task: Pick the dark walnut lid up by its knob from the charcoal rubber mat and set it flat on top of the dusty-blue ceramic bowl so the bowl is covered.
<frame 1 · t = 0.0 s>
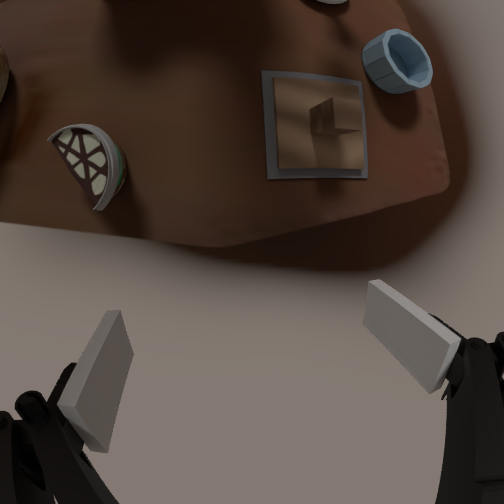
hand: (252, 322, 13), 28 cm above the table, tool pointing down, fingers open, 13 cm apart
walnut lid: (332, 119, 33), on the rubber mat
rubber mat: (318, 124, 38), on the table
food container: (113, 157, 35), on the table
ceramic bowl: (386, 67, 36), on the table
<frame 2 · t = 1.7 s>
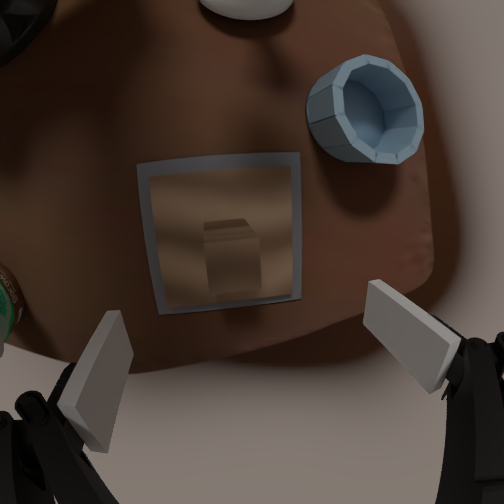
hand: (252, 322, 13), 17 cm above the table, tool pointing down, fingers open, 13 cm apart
walnut lid: (228, 249, 24), on the rubber mat
rubber mat: (224, 235, 29), on the table
food container: (9, 281, 26), on the table
ceramic bowl: (349, 116, 27), on the table
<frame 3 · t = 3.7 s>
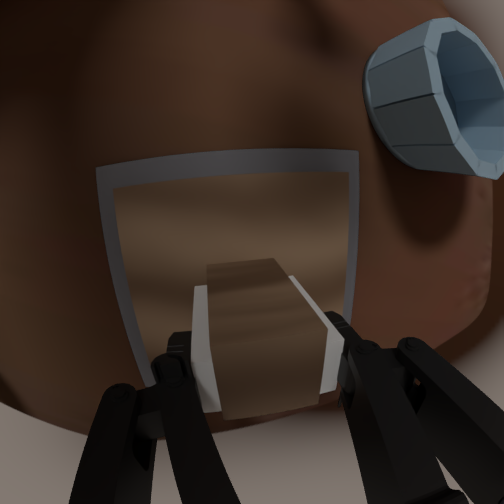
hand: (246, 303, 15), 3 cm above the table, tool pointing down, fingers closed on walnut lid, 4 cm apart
walnut lid: (251, 320, 14), resting on rubber mat, touching gripper
rubber mat: (239, 282, 18), on the table
ceramic bowl: (416, 104, 17), on the table
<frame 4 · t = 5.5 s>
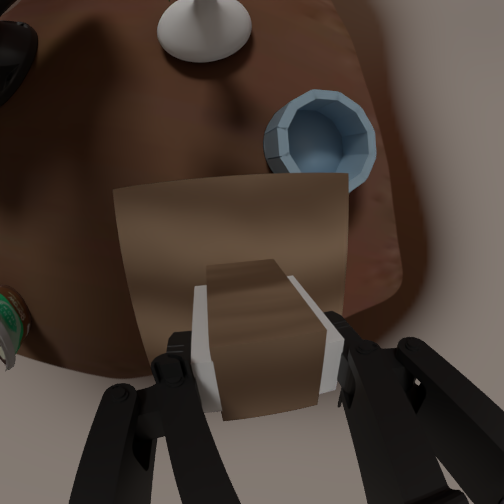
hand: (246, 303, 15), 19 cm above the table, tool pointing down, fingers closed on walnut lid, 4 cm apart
walnut lid: (251, 320, 14), point 20 cm above the table, touching gripper
food container: (17, 301, 30), on the table
ceramic bowl: (306, 146, 31), on the table
flower in vase: (200, 35, 25), on the table
when the fingers open (11 cm above the table, at t = 7.7 s): walnut lid drops 1 cm, resting on ceramic bowl.
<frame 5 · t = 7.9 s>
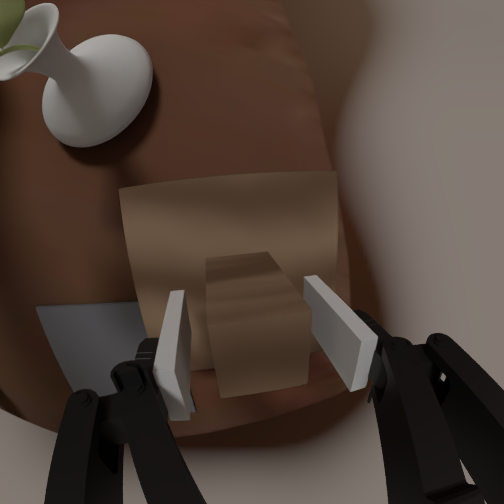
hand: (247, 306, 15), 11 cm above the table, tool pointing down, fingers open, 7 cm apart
walnut lid: (246, 307, 15), on the ceramic bowl, point 12 cm above the table
rubber mat: (115, 365, 28), on the table
flower in vase: (95, 99, 20), on the table
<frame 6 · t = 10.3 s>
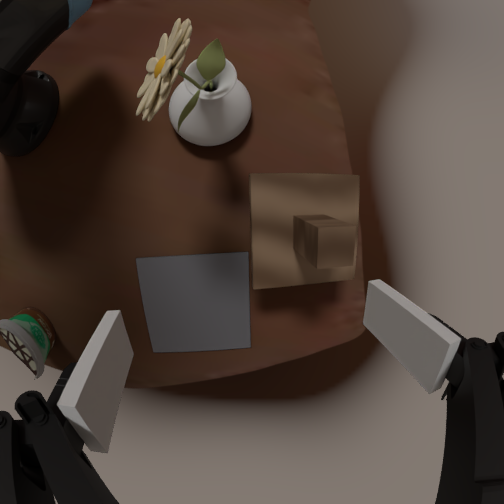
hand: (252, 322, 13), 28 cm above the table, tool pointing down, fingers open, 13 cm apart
walnut lid: (319, 237, 30), on the ceramic bowl, point 12 cm above the table
rubber mat: (195, 306, 42), on the table
food container: (43, 321, 39), on the table
flower in vase: (206, 114, 35), on the table
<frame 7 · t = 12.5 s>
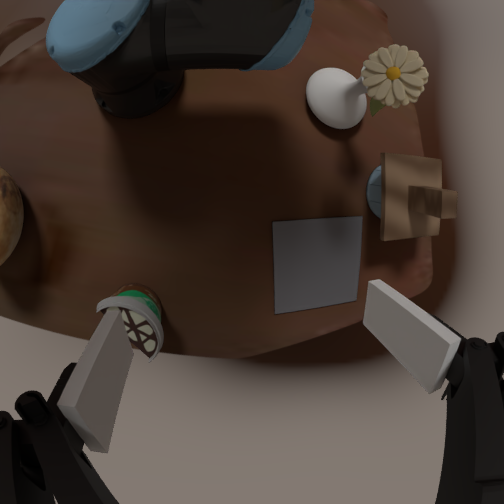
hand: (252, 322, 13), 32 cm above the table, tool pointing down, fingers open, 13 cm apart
walnut lid: (429, 200, 36), on the ceramic bowl, point 12 cm above the table
rubber mat: (319, 265, 49), on the table
food container: (147, 298, 45), on the table
ceramic bowl: (389, 191, 47), on the table
flower in vase: (330, 102, 41), on the table
clay pot: (4, 210, 35), on the table
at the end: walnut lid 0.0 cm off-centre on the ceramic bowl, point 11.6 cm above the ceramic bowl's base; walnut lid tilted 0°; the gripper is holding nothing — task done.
